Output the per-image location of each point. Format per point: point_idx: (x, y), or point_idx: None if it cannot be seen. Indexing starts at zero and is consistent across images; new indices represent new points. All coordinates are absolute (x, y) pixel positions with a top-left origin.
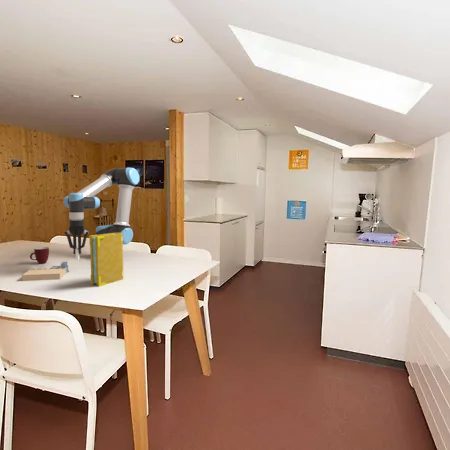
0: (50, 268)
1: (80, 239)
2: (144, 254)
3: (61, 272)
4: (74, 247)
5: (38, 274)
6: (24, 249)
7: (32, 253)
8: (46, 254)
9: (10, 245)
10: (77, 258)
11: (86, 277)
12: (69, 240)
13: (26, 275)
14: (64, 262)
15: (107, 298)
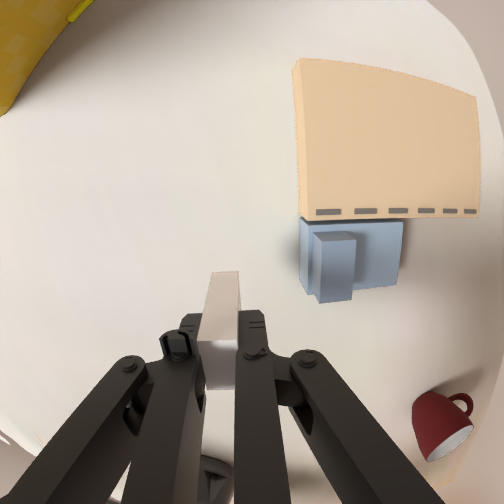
0: (402, 222)
1: (141, 481)
2: None
3: (301, 99)
4: (250, 356)
5: (418, 77)
6: (434, 476)
7: (471, 410)
8: (427, 426)
9: (446, 480)
10: (219, 278)
11: (131, 94)
12: (363, 446)
13: (460, 92)
14: (335, 275)
15: None
